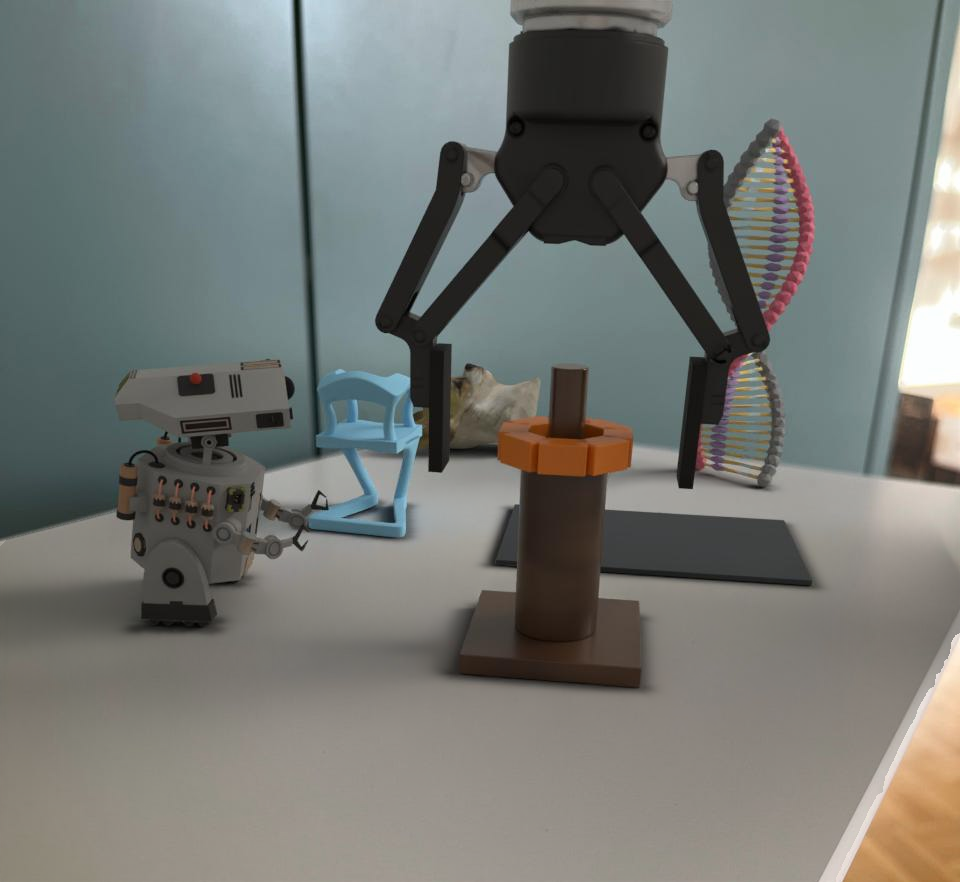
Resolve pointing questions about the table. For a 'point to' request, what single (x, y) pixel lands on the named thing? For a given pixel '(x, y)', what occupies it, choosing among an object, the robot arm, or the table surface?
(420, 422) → the toy dog
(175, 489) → the figurine
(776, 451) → the dna model
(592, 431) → the orange ring
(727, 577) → the rubber mat
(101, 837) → the table surface
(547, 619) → the ring stand
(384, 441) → the chair
